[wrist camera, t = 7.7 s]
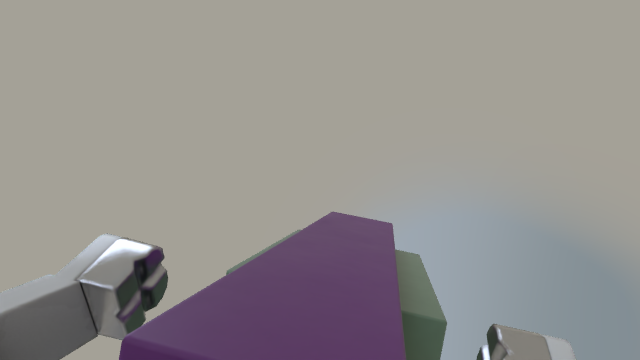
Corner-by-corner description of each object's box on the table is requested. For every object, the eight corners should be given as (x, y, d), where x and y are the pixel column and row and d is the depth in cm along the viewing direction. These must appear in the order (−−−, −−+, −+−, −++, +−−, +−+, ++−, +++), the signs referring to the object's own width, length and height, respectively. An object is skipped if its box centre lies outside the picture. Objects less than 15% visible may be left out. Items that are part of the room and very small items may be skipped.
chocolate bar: (101, 447, 6) (119, 335, 5) (327, 235, 26) (331, 211, 26) (390, 542, 5) (413, 416, 5) (388, 247, 26) (392, 223, 26)
